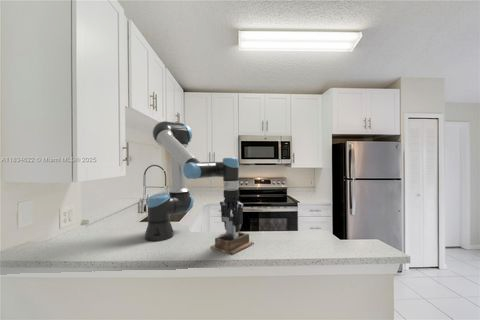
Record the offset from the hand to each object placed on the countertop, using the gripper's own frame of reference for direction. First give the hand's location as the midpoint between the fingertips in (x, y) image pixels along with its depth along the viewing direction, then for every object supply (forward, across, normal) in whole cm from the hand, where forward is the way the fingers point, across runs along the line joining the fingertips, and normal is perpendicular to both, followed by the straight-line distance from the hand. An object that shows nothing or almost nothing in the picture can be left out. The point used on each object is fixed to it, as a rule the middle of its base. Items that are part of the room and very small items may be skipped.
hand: (232, 237), depth 116 cm
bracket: (+2, 0, 0) cm, 2 cm away
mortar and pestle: (+4, -12, +15) cm, 20 cm away
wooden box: (+4, 0, 0) cm, 4 cm away
